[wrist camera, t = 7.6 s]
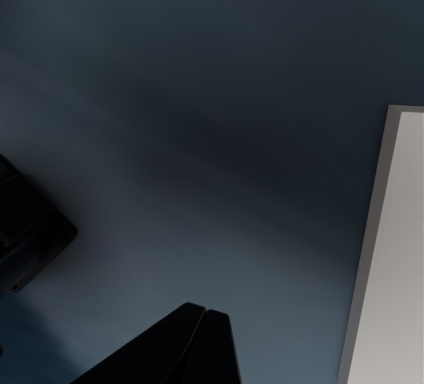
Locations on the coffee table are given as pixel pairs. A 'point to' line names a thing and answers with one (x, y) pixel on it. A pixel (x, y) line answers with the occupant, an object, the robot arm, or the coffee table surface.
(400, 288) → the white square board
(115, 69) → the coffee table surface
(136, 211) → the coffee table surface
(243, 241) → the coffee table surface
